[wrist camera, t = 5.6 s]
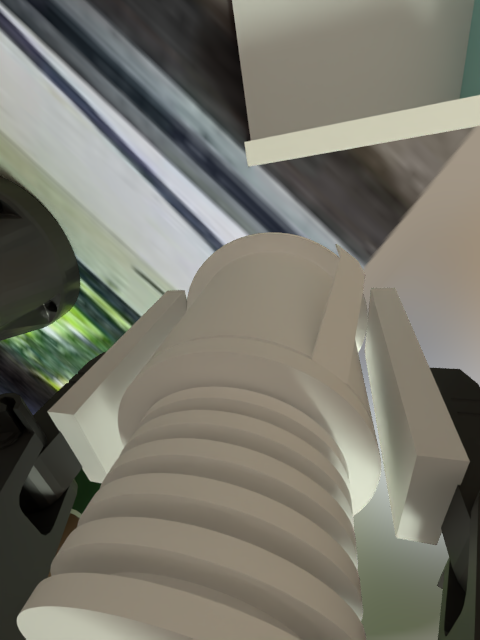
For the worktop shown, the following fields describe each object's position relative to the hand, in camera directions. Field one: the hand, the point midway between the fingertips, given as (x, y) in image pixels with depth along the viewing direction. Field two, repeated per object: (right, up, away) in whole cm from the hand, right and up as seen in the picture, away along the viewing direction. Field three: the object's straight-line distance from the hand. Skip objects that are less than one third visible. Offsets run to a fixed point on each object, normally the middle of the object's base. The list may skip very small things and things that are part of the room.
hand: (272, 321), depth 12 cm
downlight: (0, 0, 0) cm, 0 cm away
